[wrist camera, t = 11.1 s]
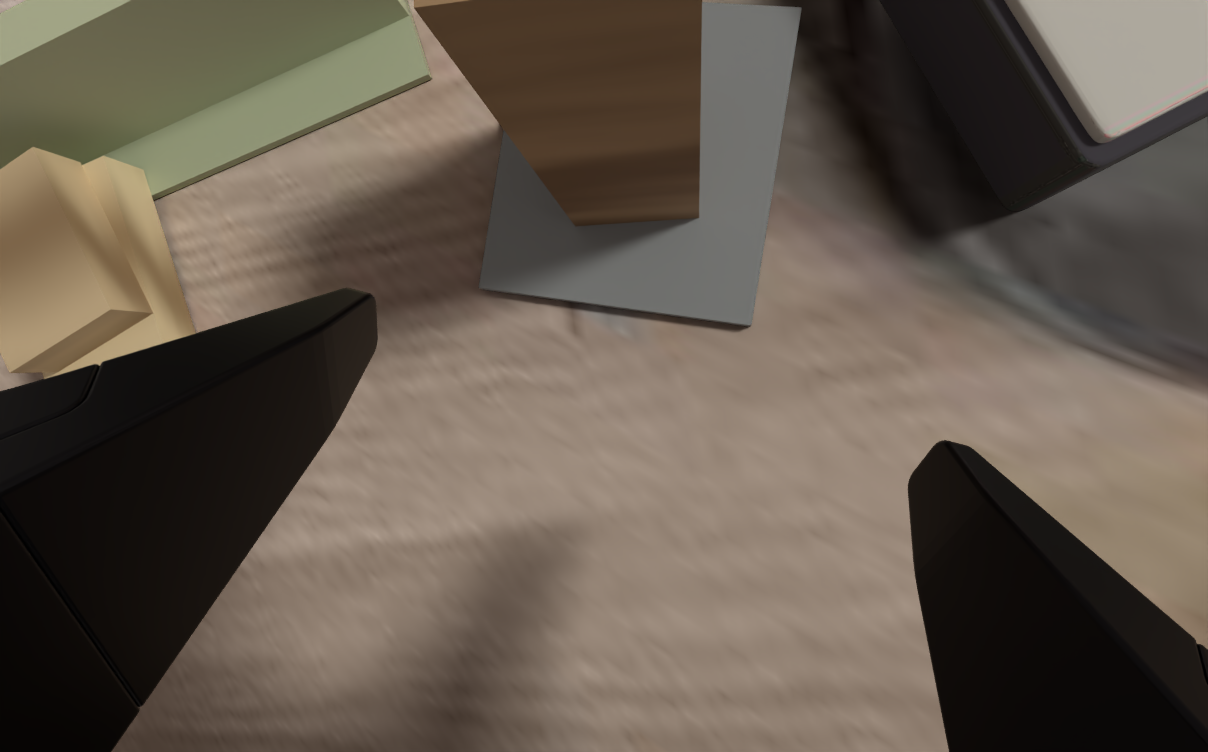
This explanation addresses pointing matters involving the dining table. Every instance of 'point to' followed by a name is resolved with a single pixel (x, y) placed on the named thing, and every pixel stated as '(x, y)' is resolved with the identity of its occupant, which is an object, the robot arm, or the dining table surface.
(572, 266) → the felt pad
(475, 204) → the dining table surface
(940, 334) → the dining table surface
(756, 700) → the dining table surface
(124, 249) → the offcut lower
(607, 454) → the dining table surface
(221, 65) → the green flanged rail
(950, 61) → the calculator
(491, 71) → the brown wooden block
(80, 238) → the offcut upper
